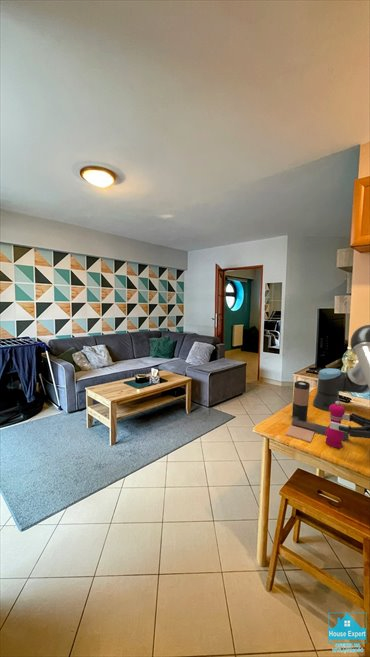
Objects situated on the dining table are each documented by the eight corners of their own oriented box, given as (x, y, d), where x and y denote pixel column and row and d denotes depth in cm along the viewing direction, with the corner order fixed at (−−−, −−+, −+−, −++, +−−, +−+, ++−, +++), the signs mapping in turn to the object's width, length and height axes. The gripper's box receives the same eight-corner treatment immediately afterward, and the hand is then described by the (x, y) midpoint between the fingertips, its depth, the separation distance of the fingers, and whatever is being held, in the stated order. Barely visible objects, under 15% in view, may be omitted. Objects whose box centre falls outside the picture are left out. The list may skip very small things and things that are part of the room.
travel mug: (308, 422, 136) (311, 385, 134) (293, 420, 137) (296, 384, 135) (304, 416, 143) (307, 381, 141) (290, 414, 145) (293, 380, 143)
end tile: (314, 433, 124) (314, 431, 124) (310, 442, 116) (310, 441, 115) (290, 426, 131) (290, 425, 131) (285, 434, 122) (285, 433, 122)
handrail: (348, 439, 119) (349, 430, 119) (347, 441, 117) (348, 432, 117) (292, 424, 133) (293, 415, 133) (291, 425, 131) (292, 417, 131)
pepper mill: (326, 438, 120) (330, 396, 118) (344, 443, 116) (348, 401, 114) (322, 444, 115) (326, 401, 113) (341, 450, 110) (346, 405, 108)
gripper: (393, 457, 93) (327, 438, 105) (388, 430, 113) (333, 417, 125) (396, 438, 92) (329, 421, 104) (390, 414, 112) (334, 402, 124)
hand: (331, 418), depth 115 cm, fingers open, 13 cm apart
